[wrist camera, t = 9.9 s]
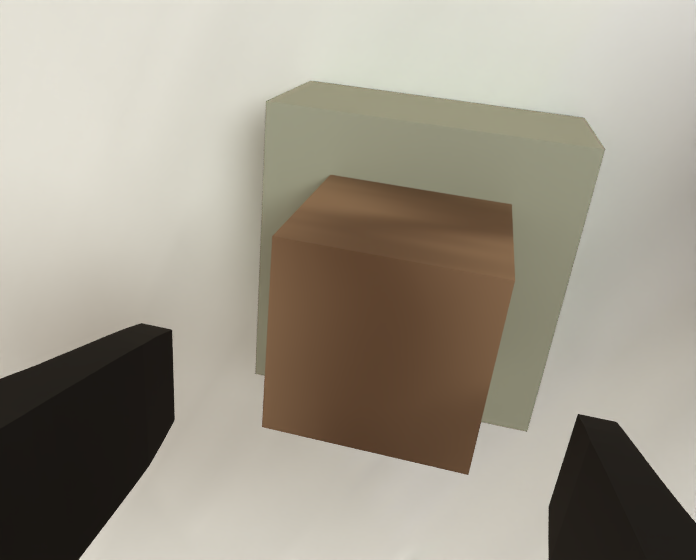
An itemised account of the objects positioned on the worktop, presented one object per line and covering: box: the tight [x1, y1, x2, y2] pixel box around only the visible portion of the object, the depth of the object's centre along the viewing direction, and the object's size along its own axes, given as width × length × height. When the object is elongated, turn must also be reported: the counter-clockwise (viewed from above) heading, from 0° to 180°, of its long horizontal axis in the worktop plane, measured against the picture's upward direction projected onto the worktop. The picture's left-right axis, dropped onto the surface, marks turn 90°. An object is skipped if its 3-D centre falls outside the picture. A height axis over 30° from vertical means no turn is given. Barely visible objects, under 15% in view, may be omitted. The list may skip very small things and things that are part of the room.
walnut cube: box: [262, 175, 515, 475], centre depth 14 cm, size 4×4×4 cm
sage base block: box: [255, 81, 605, 432], centre depth 18 cm, size 8×8×4 cm
